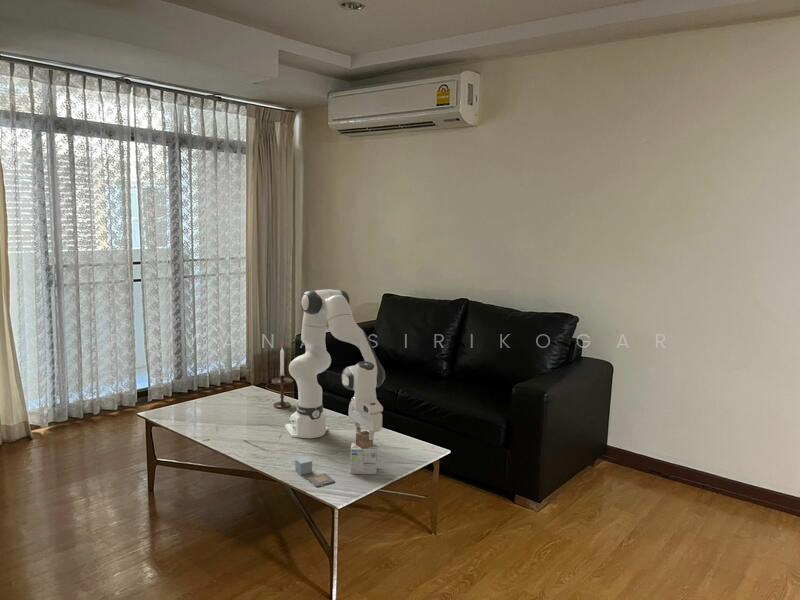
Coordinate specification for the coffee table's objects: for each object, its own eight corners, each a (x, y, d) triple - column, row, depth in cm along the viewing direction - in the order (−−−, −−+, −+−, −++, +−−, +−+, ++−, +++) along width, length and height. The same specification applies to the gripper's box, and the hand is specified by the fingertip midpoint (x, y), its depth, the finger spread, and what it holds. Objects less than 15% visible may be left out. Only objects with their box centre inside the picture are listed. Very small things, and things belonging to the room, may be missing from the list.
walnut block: (355, 444, 236) (355, 433, 235) (365, 442, 239) (366, 430, 238) (362, 448, 232) (362, 436, 231) (372, 446, 235) (373, 434, 234)
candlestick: (287, 401, 320) (287, 339, 315) (295, 407, 311) (295, 343, 306) (268, 404, 314) (268, 341, 309) (276, 410, 305) (275, 345, 300)
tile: (307, 479, 228) (307, 477, 227) (325, 474, 232) (325, 472, 232) (316, 487, 221) (316, 485, 221) (334, 482, 226) (334, 480, 226)
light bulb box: (376, 467, 240) (377, 442, 239) (376, 474, 234) (377, 449, 232) (350, 467, 240) (351, 442, 238) (350, 474, 233) (350, 448, 232)
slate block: (295, 471, 235) (295, 459, 234) (306, 468, 238) (306, 456, 237) (300, 475, 231) (300, 463, 230) (312, 472, 234) (312, 460, 233)
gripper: (345, 396, 239) (344, 428, 241) (371, 411, 223) (370, 445, 225) (358, 394, 243) (357, 425, 245) (385, 408, 226) (384, 442, 228)
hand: (364, 435), depth 235 cm, fingers open, 8 cm apart
